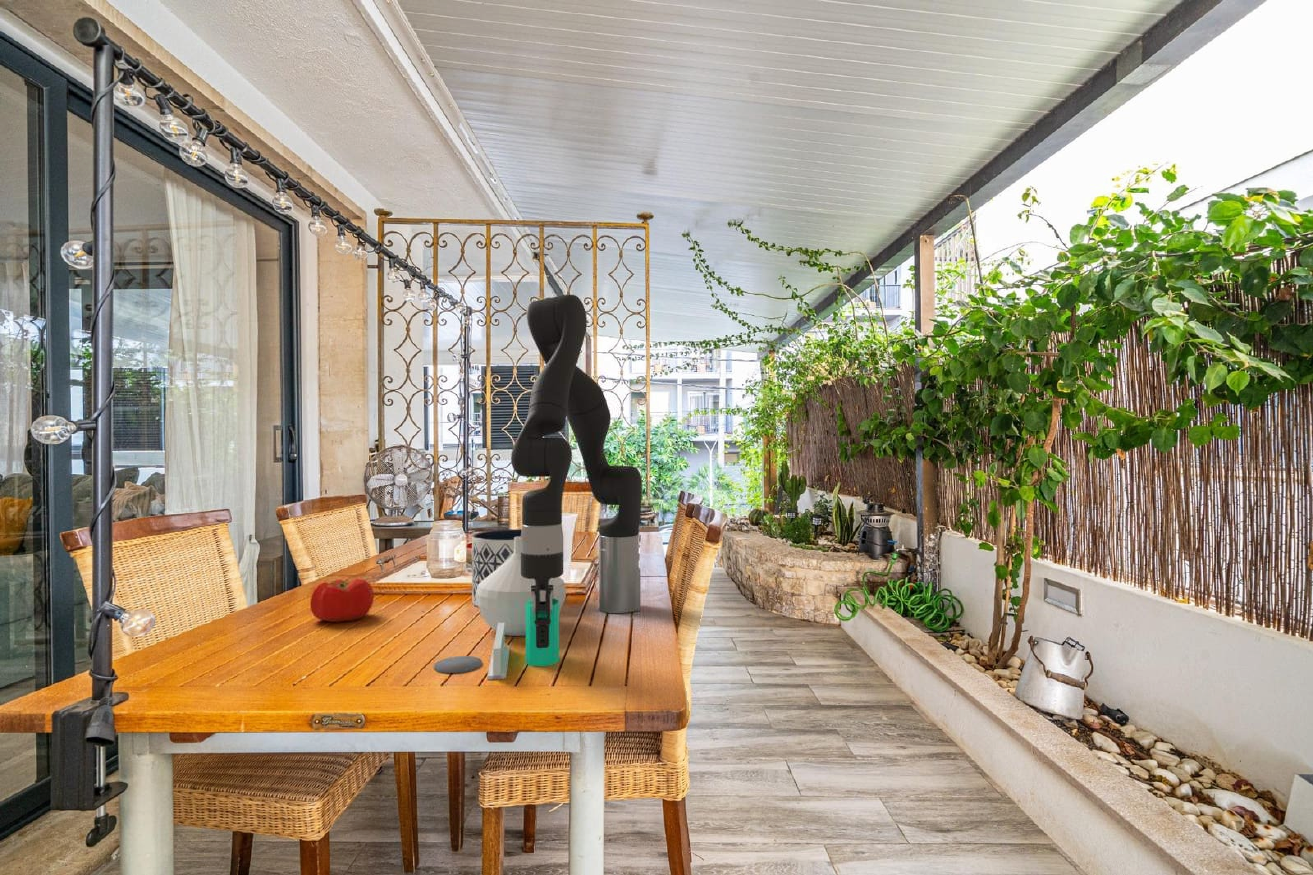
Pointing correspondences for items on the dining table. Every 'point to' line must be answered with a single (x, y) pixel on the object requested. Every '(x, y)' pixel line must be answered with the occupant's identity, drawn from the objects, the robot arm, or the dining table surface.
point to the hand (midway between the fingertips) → (542, 640)
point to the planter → (490, 554)
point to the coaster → (458, 664)
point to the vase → (511, 595)
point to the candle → (552, 651)
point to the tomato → (342, 600)
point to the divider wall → (499, 655)
